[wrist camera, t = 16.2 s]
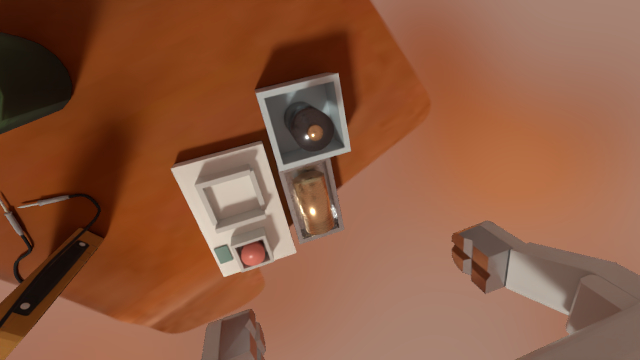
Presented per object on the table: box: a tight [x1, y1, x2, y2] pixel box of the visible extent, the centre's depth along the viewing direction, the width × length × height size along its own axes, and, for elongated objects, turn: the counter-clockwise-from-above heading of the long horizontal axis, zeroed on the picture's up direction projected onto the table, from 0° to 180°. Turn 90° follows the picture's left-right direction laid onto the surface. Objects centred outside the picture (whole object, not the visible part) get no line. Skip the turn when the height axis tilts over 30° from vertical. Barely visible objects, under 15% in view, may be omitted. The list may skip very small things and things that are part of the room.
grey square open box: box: [255, 72, 351, 172], centre depth 29 cm, size 8×8×4 cm
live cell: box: [293, 171, 335, 235], centre depth 33 cm, size 8×4×4 cm, turn 12°
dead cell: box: [284, 101, 334, 152], centre depth 27 cm, size 4×4×8 cm
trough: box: [276, 157, 344, 244], centre depth 35 cm, size 11×6×2 cm, turn 12°
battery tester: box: [171, 141, 296, 277], centre depth 32 cm, size 16×10×4 cm, turn 12°
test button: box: [241, 240, 265, 266], centre depth 33 cm, size 3×3×2 cm
